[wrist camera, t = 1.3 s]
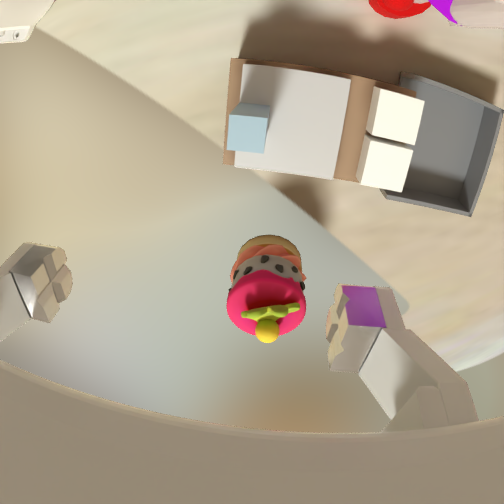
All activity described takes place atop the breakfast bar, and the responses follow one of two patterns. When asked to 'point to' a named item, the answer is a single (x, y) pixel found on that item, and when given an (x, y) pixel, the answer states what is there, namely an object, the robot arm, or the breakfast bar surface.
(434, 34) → the breakfast bar surface
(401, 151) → the tile
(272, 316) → the cake
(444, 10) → the toy
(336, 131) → the blue-knobbed white block
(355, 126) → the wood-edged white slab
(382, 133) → the tile
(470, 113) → the tray
